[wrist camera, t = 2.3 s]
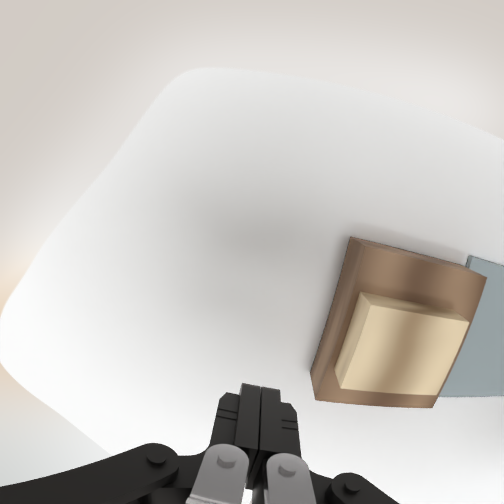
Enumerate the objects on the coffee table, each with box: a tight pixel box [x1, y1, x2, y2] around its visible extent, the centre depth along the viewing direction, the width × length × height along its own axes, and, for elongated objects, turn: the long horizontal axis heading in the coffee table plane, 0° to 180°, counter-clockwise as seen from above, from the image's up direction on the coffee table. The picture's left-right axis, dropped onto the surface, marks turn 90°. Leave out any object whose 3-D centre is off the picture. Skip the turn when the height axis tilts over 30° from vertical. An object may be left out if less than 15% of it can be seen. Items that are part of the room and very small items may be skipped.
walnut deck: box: [310, 237, 487, 408], centre depth 23 cm, size 11×12×4 cm
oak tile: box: [334, 292, 469, 395], centre depth 20 cm, size 8×6×2 cm
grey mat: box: [438, 256, 504, 397], centre depth 24 cm, size 17×14×1 cm
